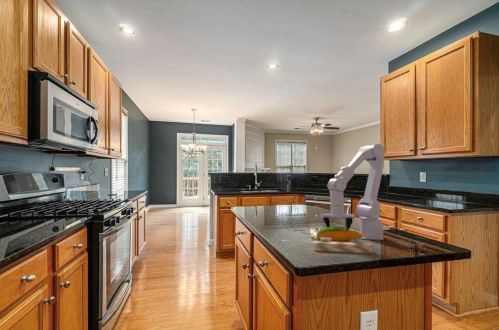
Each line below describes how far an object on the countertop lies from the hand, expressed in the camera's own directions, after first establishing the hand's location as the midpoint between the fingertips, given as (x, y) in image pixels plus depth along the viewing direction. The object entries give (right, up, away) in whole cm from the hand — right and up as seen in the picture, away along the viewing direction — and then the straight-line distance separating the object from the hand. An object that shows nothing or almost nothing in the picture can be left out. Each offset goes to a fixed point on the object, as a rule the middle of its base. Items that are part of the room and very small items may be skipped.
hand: (337, 234), depth 113 cm
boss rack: (-3, -3, -12) cm, 12 cm away
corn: (-1, -3, -4) cm, 5 cm away
